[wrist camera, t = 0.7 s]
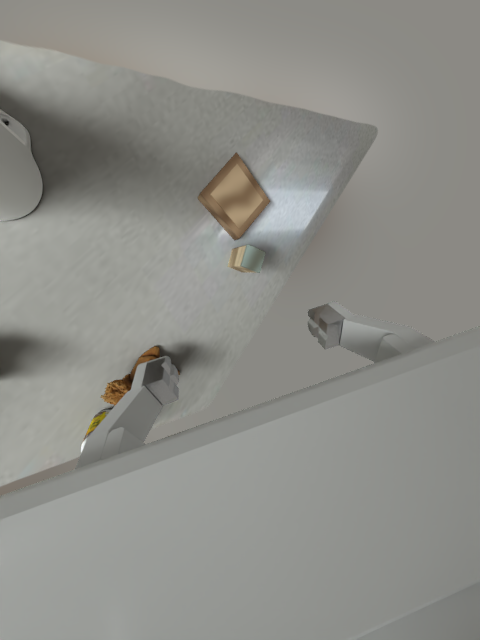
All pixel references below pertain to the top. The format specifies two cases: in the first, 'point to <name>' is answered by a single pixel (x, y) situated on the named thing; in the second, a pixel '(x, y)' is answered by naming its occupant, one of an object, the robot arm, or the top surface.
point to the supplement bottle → (95, 424)
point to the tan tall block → (246, 259)
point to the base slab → (234, 197)
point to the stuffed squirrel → (127, 379)
